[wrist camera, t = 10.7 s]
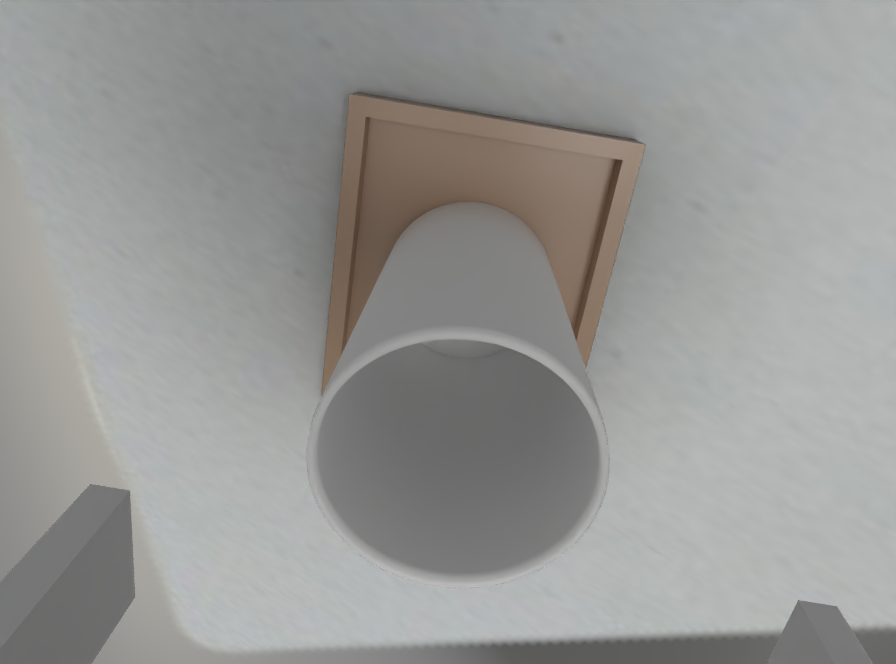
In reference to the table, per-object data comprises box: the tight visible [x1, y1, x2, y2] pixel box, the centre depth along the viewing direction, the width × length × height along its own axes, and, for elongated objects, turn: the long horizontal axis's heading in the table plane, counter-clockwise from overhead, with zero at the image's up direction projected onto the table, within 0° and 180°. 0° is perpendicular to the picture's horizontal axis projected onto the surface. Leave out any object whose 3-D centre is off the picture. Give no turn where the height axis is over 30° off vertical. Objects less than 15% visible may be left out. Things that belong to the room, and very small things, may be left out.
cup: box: [307, 202, 610, 588], centre depth 25 cm, size 8×8×16 cm
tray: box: [321, 92, 646, 397], centre depth 32 cm, size 16×13×2 cm
